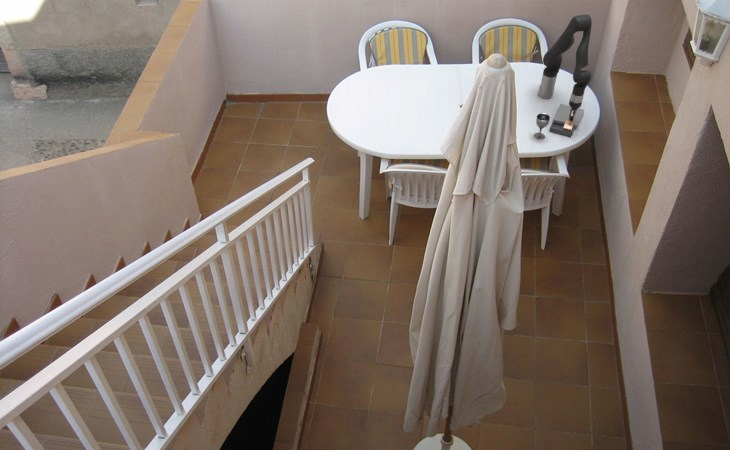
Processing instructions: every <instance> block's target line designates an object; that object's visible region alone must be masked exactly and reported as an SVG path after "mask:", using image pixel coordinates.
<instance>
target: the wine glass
mask: <svg viewBox="0 0 730 450" xmlns="http://www.w3.org/2000/svg"><path fill="white" fill-rule="evenodd" d="M535 118H536V120H535V121H536V122H535V123H536V126H537V127H538V128H539V132H535V133H534V134H533V138H535V139H536V140H541V141H542V140H544V139H545V138H546V136H545V134H544V133H542V130H543V129H544V128H547V126H548V124H549V123H550V119H551V116H550V115H549V114H547V113H543V112H541V113H539V114H537V115H536V117H535Z"/></svg>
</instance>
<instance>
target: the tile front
mask: <svg viewBox="0 0 730 450" xmlns="http://www.w3.org/2000/svg"><path fill="white" fill-rule="evenodd" d="M563 130H564V131H568V132H571V131H572V126H569V125H564V127H563Z"/></svg>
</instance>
